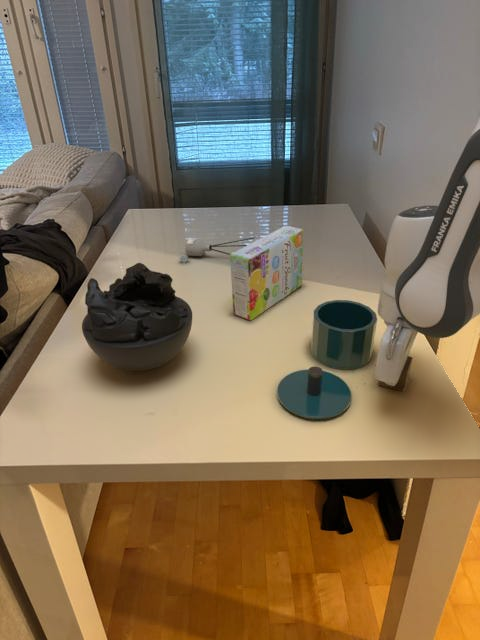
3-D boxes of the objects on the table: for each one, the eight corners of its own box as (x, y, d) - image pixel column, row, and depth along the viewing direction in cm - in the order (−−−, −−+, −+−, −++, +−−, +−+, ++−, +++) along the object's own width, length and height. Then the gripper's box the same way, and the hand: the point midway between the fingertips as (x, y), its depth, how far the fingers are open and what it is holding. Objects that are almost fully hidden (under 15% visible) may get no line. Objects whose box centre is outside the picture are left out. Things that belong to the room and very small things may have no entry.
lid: (359, 386, 83) (363, 360, 80) (336, 431, 73) (340, 404, 70) (294, 366, 88) (295, 342, 85) (265, 407, 79) (265, 381, 76)
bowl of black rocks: (205, 335, 98) (198, 252, 88) (182, 398, 81) (171, 303, 71) (114, 330, 101) (98, 249, 91) (74, 390, 84) (49, 298, 74)
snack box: (283, 280, 119) (285, 224, 112) (302, 286, 116) (305, 228, 109) (231, 314, 105) (228, 252, 98) (251, 322, 102) (250, 258, 95)
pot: (377, 344, 94) (383, 307, 89) (361, 376, 85) (367, 337, 81) (323, 330, 99) (326, 295, 94) (302, 359, 90) (304, 322, 86)
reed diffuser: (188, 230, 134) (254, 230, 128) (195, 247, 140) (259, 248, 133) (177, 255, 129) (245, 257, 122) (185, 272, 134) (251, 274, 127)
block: (408, 377, 84) (412, 357, 82) (403, 391, 81) (407, 371, 78) (383, 370, 86) (387, 350, 84) (377, 384, 82) (380, 364, 80)
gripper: (414, 341, 66) (399, 415, 73) (437, 283, 81) (423, 349, 89) (369, 331, 69) (360, 403, 76) (400, 277, 84) (390, 341, 91)
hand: (394, 373), depth 82 cm, fingers closed on block, 4 cm apart
